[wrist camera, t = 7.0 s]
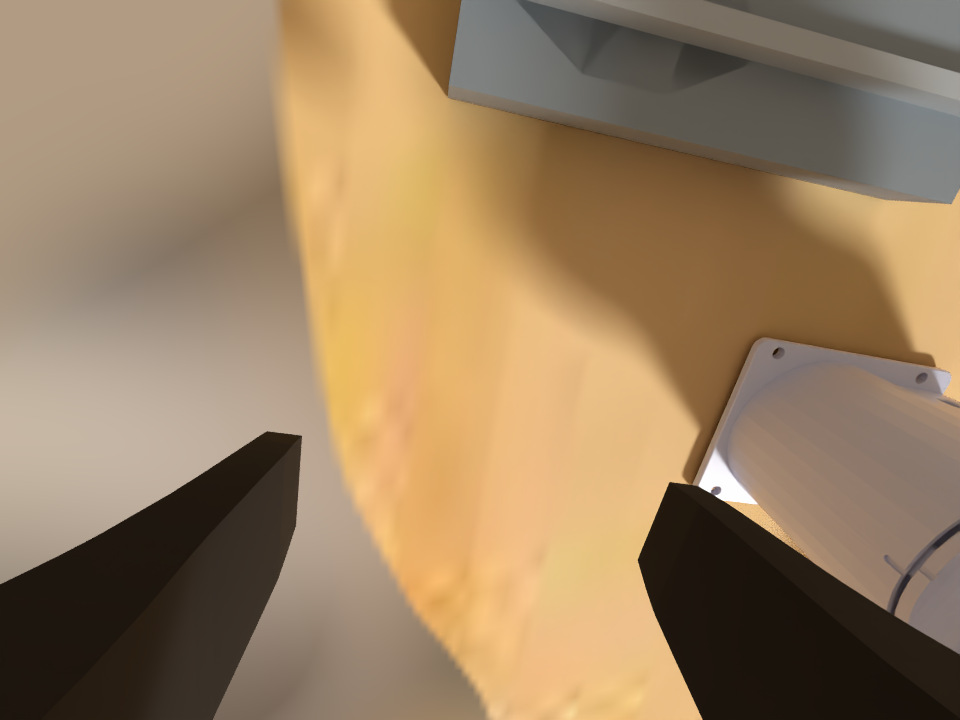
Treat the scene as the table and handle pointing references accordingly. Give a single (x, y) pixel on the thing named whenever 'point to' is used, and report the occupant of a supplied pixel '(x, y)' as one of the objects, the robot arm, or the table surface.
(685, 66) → the grey divided tray
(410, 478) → the table surface
